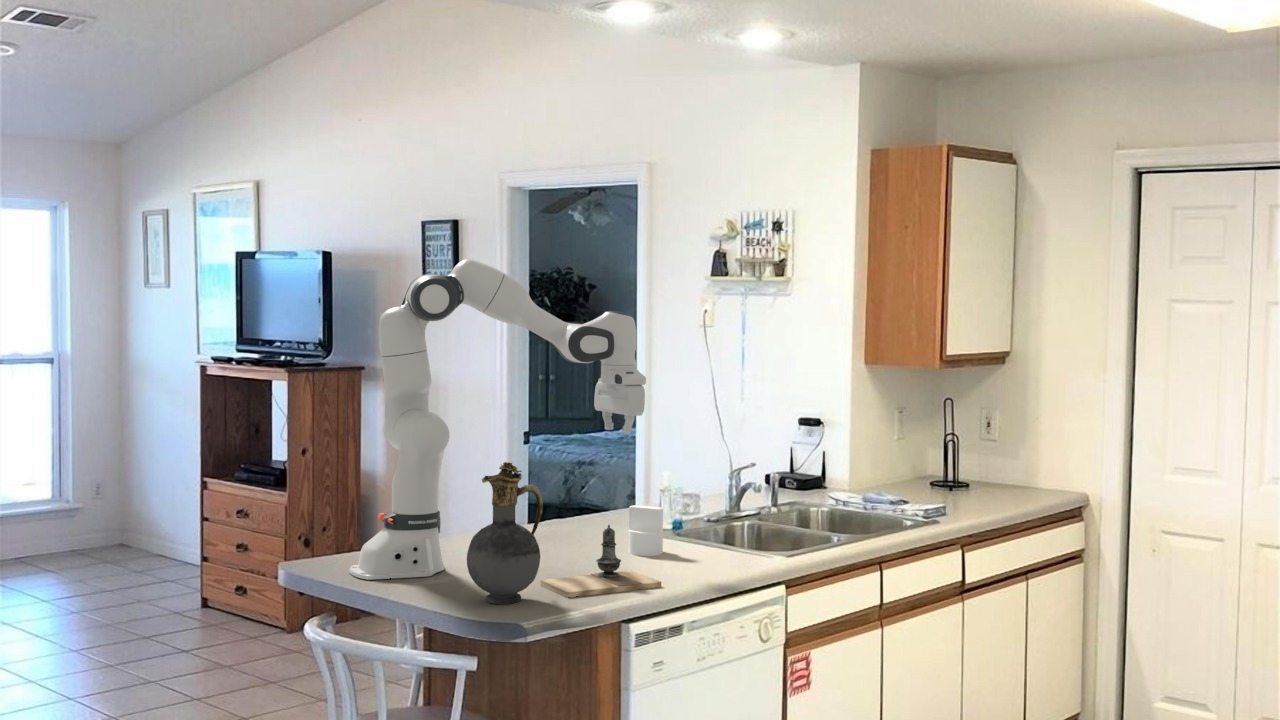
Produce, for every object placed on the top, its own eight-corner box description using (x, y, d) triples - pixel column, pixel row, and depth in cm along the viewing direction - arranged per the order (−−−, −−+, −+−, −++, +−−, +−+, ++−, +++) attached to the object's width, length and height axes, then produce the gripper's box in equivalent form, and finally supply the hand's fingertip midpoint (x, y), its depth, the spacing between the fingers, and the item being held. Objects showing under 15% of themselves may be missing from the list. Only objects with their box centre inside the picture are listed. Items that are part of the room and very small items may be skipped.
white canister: (668, 551, 328) (668, 506, 327) (654, 557, 320) (654, 511, 319) (637, 548, 332) (637, 503, 331) (622, 554, 323) (623, 508, 323)
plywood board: (567, 597, 273) (567, 591, 273) (540, 585, 285) (540, 579, 285) (661, 587, 285) (661, 580, 285) (631, 575, 297) (631, 569, 297)
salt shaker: (624, 573, 292) (624, 523, 292) (617, 578, 286) (617, 527, 286) (600, 572, 294) (600, 521, 293) (592, 577, 288) (593, 525, 288)
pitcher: (459, 602, 268) (460, 463, 267) (524, 588, 282) (525, 456, 281) (492, 610, 261) (493, 468, 259) (558, 596, 275) (559, 461, 274)
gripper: (588, 374, 318) (587, 428, 318) (627, 378, 300) (626, 435, 301) (610, 374, 321) (609, 427, 322) (649, 378, 303) (649, 434, 304)
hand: (618, 431), depth 311 cm, fingers open, 8 cm apart
